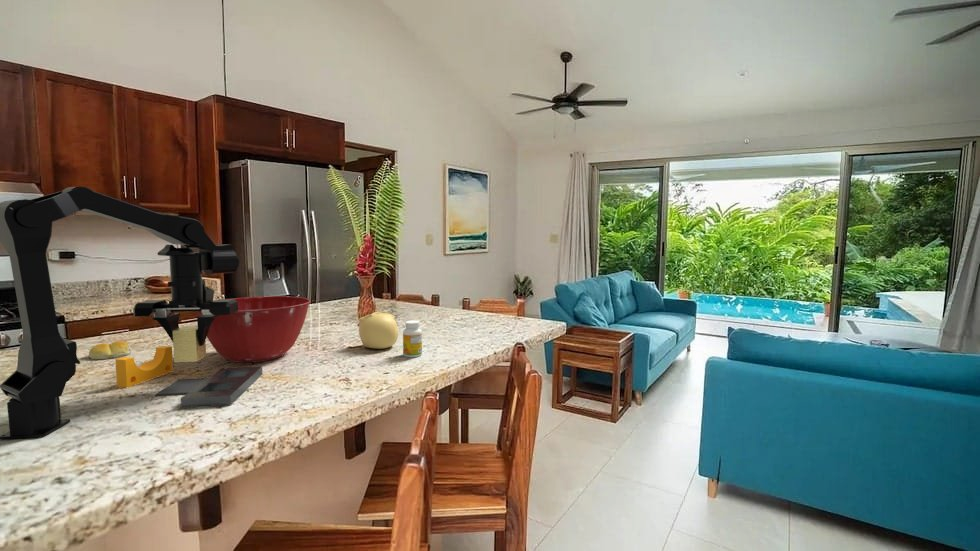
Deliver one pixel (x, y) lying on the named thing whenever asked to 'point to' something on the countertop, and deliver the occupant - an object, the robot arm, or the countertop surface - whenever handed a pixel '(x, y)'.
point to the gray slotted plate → (222, 387)
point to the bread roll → (110, 350)
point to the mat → (181, 386)
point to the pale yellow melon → (378, 330)
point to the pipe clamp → (144, 367)
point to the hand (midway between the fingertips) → (189, 345)
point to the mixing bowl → (258, 328)
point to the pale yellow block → (187, 345)
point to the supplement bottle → (412, 339)
